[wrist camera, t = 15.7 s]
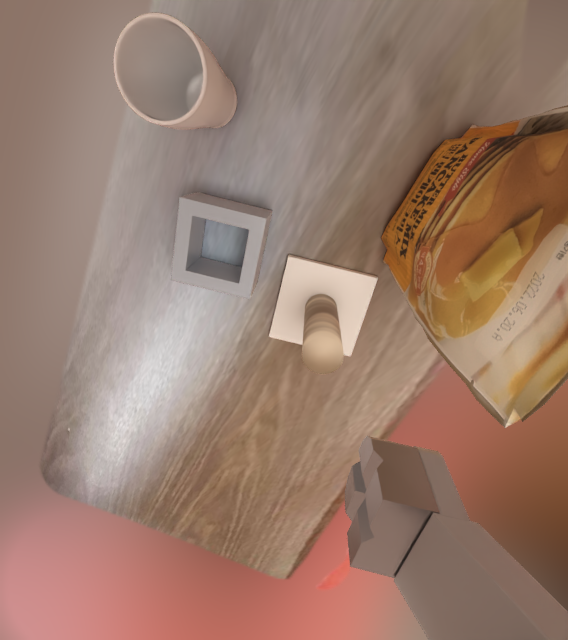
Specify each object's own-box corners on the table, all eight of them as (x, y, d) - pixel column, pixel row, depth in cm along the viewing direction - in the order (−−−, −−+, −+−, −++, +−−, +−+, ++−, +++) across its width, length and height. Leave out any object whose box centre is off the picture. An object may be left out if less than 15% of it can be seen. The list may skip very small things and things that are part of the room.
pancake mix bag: (516, 133, 39) (910, 91, 13) (407, 287, 46) (522, 452, 20) (462, 99, 38) (771, -19, 12) (359, 261, 45) (418, 399, 20)
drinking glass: (186, 137, 41) (122, 128, 27) (177, 64, 39) (100, 13, 25) (247, 134, 41) (213, 124, 27) (242, 60, 38) (201, 6, 24)
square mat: (288, 254, 45) (288, 256, 45) (376, 275, 46) (377, 278, 45) (269, 333, 50) (268, 336, 49) (349, 352, 50) (350, 356, 49)
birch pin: (309, 290, 46) (307, 333, 35) (341, 298, 46) (349, 343, 35) (301, 319, 48) (297, 368, 37) (332, 326, 48) (337, 378, 37)
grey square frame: (196, 191, 43) (179, 197, 38) (272, 210, 44) (266, 218, 38) (187, 265, 47) (170, 280, 42) (257, 282, 47) (249, 299, 42)
